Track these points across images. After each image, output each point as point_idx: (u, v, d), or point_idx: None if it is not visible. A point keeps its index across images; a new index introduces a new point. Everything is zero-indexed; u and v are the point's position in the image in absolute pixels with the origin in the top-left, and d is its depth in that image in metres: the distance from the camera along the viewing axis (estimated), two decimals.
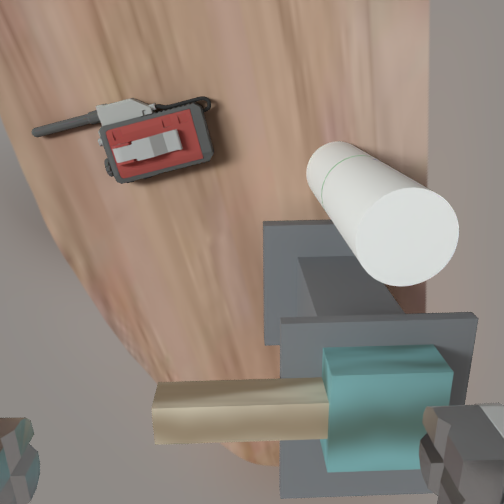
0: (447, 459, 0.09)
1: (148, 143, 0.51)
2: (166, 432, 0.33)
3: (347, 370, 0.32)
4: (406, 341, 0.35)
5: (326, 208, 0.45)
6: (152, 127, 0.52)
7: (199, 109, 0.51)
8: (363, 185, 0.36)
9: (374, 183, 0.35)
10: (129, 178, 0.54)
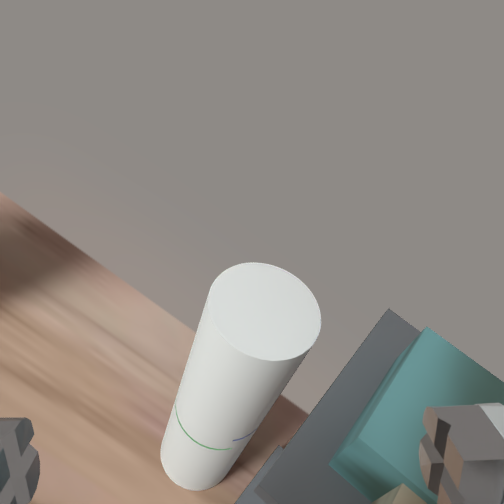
0: (448, 459, 0.09)
1: None
2: None
3: (364, 422, 0.21)
4: (377, 377, 0.27)
5: (204, 432, 0.35)
6: None
7: None
8: (196, 336, 0.32)
9: None
10: None
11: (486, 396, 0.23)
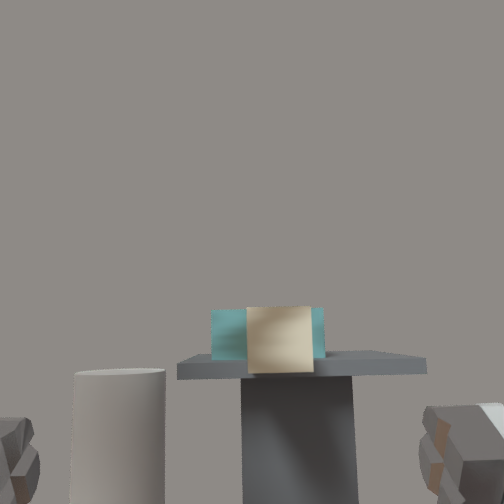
0: (448, 460, 0.09)
1: None
2: None
3: None
4: None
5: None
6: None
7: None
8: (74, 433, 0.36)
9: None
10: None
11: None
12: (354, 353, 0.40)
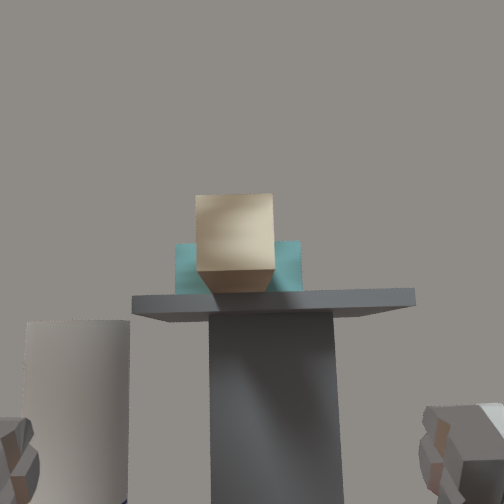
0: (448, 460, 0.09)
1: None
2: None
3: None
4: None
5: None
6: None
7: None
8: (24, 386, 0.32)
9: (24, 371, 0.33)
10: None
11: None
12: None
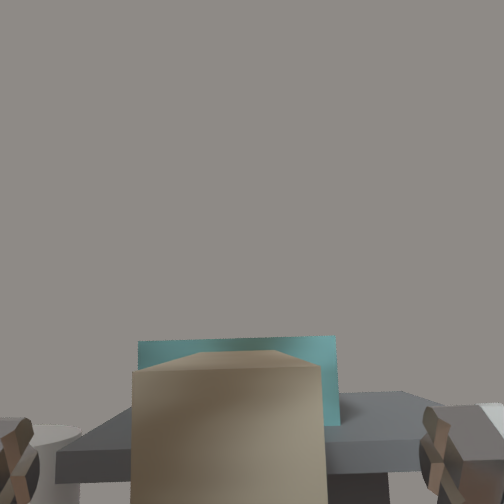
0: (448, 460, 0.09)
1: None
2: (256, 364, 0.09)
3: None
4: None
5: None
6: None
7: None
8: None
9: None
10: None
11: None
12: (383, 404, 0.25)
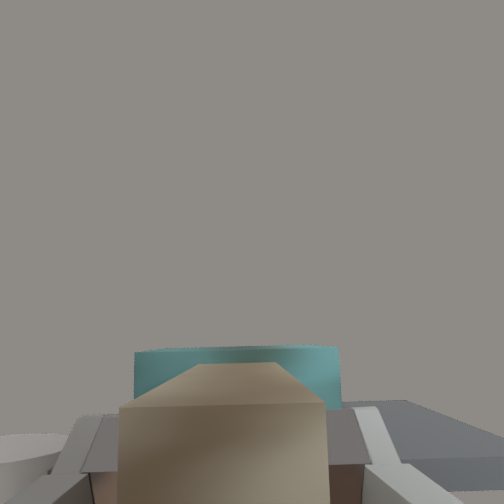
0: None
1: None
2: (255, 396, 0.08)
3: None
4: None
5: None
6: None
7: None
8: None
9: None
10: None
11: None
12: (387, 415, 0.24)
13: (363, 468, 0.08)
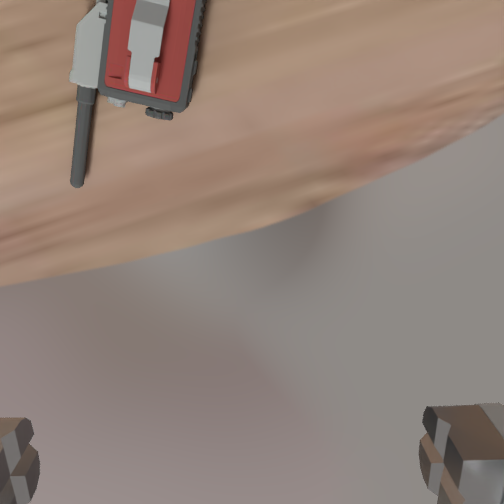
0: (448, 459, 0.09)
1: (140, 25, 0.32)
2: None
3: None
4: None
5: None
6: (124, 11, 0.33)
7: None
8: None
9: None
10: (182, 91, 0.35)
11: None
12: None
13: None
